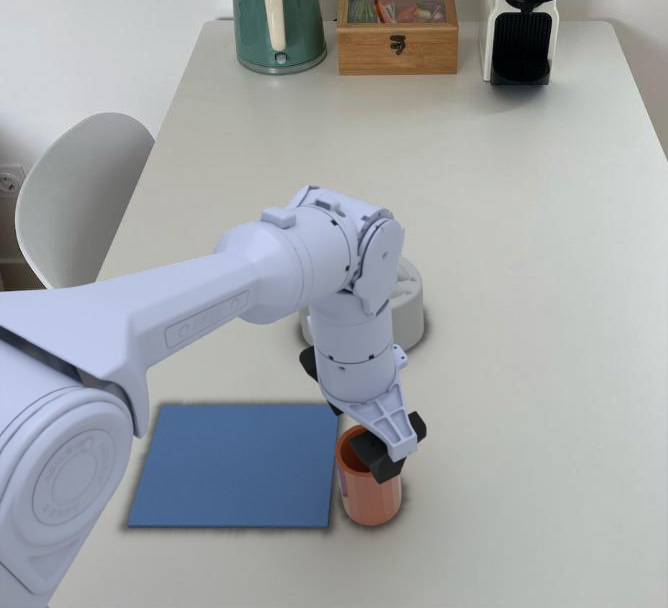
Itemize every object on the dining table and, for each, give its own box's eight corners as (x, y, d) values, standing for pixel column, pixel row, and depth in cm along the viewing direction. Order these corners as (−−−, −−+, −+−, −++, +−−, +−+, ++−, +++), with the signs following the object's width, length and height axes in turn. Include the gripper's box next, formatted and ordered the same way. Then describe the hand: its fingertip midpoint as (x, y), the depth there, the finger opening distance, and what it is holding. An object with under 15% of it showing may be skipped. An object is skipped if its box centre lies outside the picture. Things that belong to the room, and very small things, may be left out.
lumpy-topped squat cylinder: (327, 280, 95) (320, 224, 89) (435, 300, 92) (434, 244, 86) (294, 346, 88) (283, 290, 82) (409, 370, 85) (406, 314, 79)
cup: (381, 536, 71) (376, 487, 66) (332, 509, 73) (322, 460, 68) (411, 488, 75) (409, 438, 69) (363, 464, 77) (357, 414, 71)
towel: (339, 407, 82) (339, 405, 81) (327, 527, 72) (327, 525, 72) (163, 407, 82) (162, 405, 82) (128, 527, 73) (127, 524, 72)
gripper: (453, 378, 55) (452, 485, 64) (356, 255, 65) (367, 363, 74) (362, 423, 53) (374, 528, 62) (275, 288, 62) (297, 396, 71)
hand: (365, 441), depth 68 cm, fingers open, 7 cm apart
